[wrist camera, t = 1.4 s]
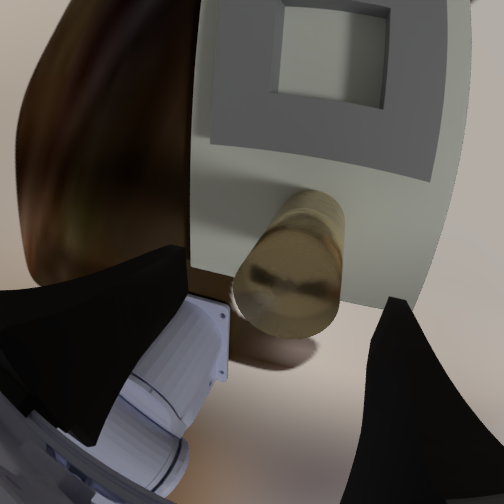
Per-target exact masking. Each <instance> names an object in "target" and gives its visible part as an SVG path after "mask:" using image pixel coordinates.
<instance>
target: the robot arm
mask: <svg viewBox="0 0 504 504" xmlns="http://www.w3.org/2000/svg"><path fill="white" fill-rule="evenodd" d="M188 293H189V291H188V280H187V267H186V254H185V248H183V247H179V246H175V245H168V246H164V247H161V248H158V249H156V250H153V251H150V252H148V253H145V254H143V255H140V256H138V257H135V258H133V259H130V260H128V261H125V262H123V263H120V264H118V265H115V266H112V267H110V268H107V269H104V270H102V271H99V272H96V273H93V274H90V275H87V276H84V277H81V278H77V279H74V280H70V281H66V282H61V283H57V284H52V285H47V286H42V287H37V288H29V289H20V290H1V291H0V504H176V503H174V502H172V501H170V500H168V499H166V498H165V497H166V496H167V495H168V494H169V493H170V492H172V490H173V489H174V488H175V487H176V486H177V484H178V483H179V481H180V480H181V478H182V476H183V475H184V473H185V471H186V468H187V465H188V462H189V445H188V442H187V441H186V440H185V439H184V438H183V437H182V435H183V433H184V432H185V430H186V428H188V427H189V426H190V425H191V424H192V423H193V421H194V419H195V418H196V416H197V414H198V412H199V410H200V408H201V406H202V404H203V403H204V401H205V399H206V397H207V395H208V393H209V391H210V390H211V388H212V386H213V384H214V382H215V380H219V381H222V382H225V381H226V380H227V378H228V354H229V327H230V308H229V306H228V305H227V304H224V303H220V302H217V301H213V300H209V299H206V298H202V297H198V296H195V295H191V294H188ZM221 313H223V314H224V315H225V316H224V315H222V314H221ZM340 504H504V446H503V445H502V444H501V443H500V442H499V441H498V440H497V439H496V438H495V437H494V436H493V434H491V432H490V431H489V430H488V429H487V428H486V427H485V425H484V424H483V423H482V422H481V421H480V420H479V418H478V417H477V416H476V414H475V413H474V412H473V411H472V409H471V408H470V407H469V406H468V404H467V403H466V402H465V400H464V399H463V398H462V396H461V395H460V393H459V392H458V390H457V389H456V387H455V386H454V384H453V383H452V381H451V380H450V378H449V377H448V375H447V374H446V372H445V370H444V369H443V367H442V365H441V364H440V362H439V360H438V359H437V357H436V355H435V353H434V352H433V350H432V348H431V346H430V344H429V343H428V341H427V339H426V337H425V335H424V333H423V331H422V329H421V327H420V325H419V323H418V322H417V320H416V318H415V316H414V314H413V312H412V310H411V308H410V306H409V304H408V303H407V301H406V300H404V299H399V298H395V297H391V296H389V297H388V300H387V303H386V305H385V308H384V310H383V313H382V315H381V318H380V320H379V323H378V325H377V327H376V330H375V332H374V334H373V337H372V339H371V343H370V348H369V354H368V361H367V368H366V384H365V397H364V411H363V420H362V427H361V434H360V438H359V443H358V447H357V451H356V455H355V458H354V462H353V466H352V469H351V472H350V476H349V479H348V482H347V485H346V488H345V491H344V493H343V496H342V499H341V502H340Z"/></svg>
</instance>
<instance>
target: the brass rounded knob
mask: <svg viewBox="0 0 504 504" xmlns="http://www.w3.org/2000/svg"><path fill="white" fill-rule="evenodd" d="M344 240H345V216H344V213H343V210H342V208H341V207H340V205H339V204H338V202H337V201H336V200H335V199H334V198H332V197H331V196H330V195H328V194H326V193H324V192H321V191H317V190H304V191H300V192H298V193H295V194H294V195H292V196H291V197H289V198H288V199H287V200H286V202H285V203H284V204H283V206H282V207H281V209H280V210H279V212H278V213H277V214H276V216H275V217H274V219H273V220H272V222H271V223H270V224H269V226H268V227H267V229H266V230H265V232H264V233H263V234H262V236H261V237H260V239H259V240H258V242H257V243H256V245H255V246H254V247H253V249H252V250H251V252H250V253H249V255H248V256H247V257H246V259H245V260H244V262H243V263H242V265H241V266H240V267H239V269H238V271H237V273H236V275H235V278H234V284H233V292H234V298H235V301H236V304H237V306H238V308H239V310H240V311H241V313H242V314H243V316H244V317H245V318H246V319H247V320H248V321H249V322H250V323H251V324H252V325H253V326H255V327H256V328H258V329H259V330H261V331H263V332H265V333H267V334H269V335H272V336H275V337H278V338H283V339H302V338H307V337H311V336H313V335H316V334H318V333H320V332H321V331H323V330H324V329H325V328H327V326H329V325H330V324H331V322H332V321H333V320H334V318H335V316H336V314H337V312H338V308H339V303H340V293H341V282H342V270H343V256H344Z"/></svg>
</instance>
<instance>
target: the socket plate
mask: <svg viewBox="0 0 504 504" xmlns="http://www.w3.org/2000/svg"><path fill="white" fill-rule="evenodd" d="M471 37H472V36H471V9H470V0H201V9H200V18H199V27H198V38H197V49H196V61H195V74H194V90H193V107H192V129H191V162H190V250H191V267H195V268H199V269H203V270H207V271H211V272H216V273H220V274H224V275H228V276H232V277H235V275H236V273H237V271H238V269H239V267H240V266H241V265H242V263H243V262H244V260H245V259H246V257H247V256H248V255H249V253H250V252H251V250H252V249H253V247H254V246H255V245H256V243H257V242H258V240H259V239H260V237H261V236H262V234H263V233H264V232H265V230H266V229H267V227H268V226H269V224H270V223H271V222H272V220H273V219H274V217H275V216H276V214H277V213H278V212H279V210H280V209H281V207H282V206H283V204H284V203H285V202H286V200H287V199H288V198H289V197H291V196H292V195H294V194H295V193H298V192H300V191H304V190H317V191H321V192H324V193H326V194H328V195H330V196H331V197H332V198H334V199H335V200H336V201H337V202H338V204H339V205H340V207H341V208H342V210H343V213H344V216H345V240H344V256H343V270H342V282H341V293H340V301H345V302H350V303H355V304H359V305H364V306H369V307H374V308H379V309H384V308H385V305H386V303H387V300H388V297H389V296H391V297H395V298H399V299H404V300H406V301H407V303H408V304H409V306H410V308H411V310H412V311H413V308H414V306H415V303H416V301H417V299H418V296H419V294H420V291H421V289H422V286H423V284H424V281H425V278H426V276H427V273H428V271H429V268H430V265H431V262H432V259H433V256H434V254H435V251H436V248H437V244H438V241H439V238H440V235H441V232H442V229H443V225H444V222H445V218H446V215H447V211H448V208H449V204H450V200H451V196H452V192H453V187H454V184H455V179H456V175H457V170H458V166H459V161H460V155H461V150H462V144H463V138H464V132H465V125H466V118H467V109H468V100H469V90H470V77H471V50H472V46H471V45H472V38H471Z"/></svg>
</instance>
